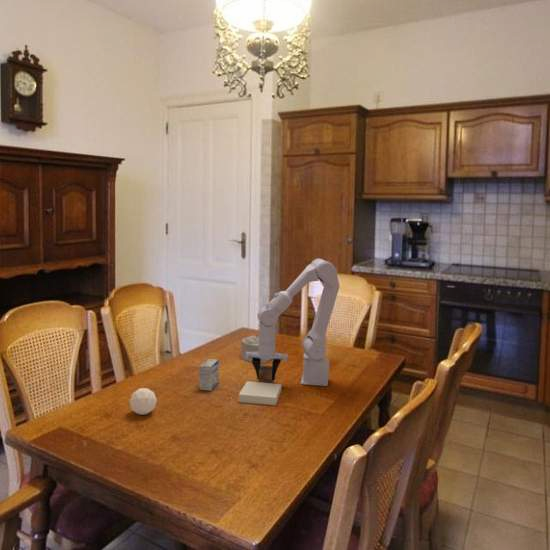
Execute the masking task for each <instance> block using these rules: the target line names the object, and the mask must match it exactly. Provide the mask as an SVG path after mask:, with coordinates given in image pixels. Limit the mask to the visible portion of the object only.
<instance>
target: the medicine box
mask: <svg viewBox="0 0 550 550" xmlns="http://www.w3.org/2000/svg"><path fill="white" fill-rule="evenodd" d="M219 361H220V360H219V359H214V358H213V359H212V358H207V359H206V360H205V361H203V363H201V364H200V365H199V367H198V371H199V372H198V373H199V375H198V377H199V378H198V379H199V390H200V391H209V392H212V391H213V390H214V389H215V387H216V386H217V385H218V384H219V381H220V379H219V378H220V377H219V376H220V375H219V371H220V370H219V368H220V367H219ZM213 388H214V389H213Z"/></svg>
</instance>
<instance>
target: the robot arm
mask: <svg viewBox="0 0 550 550" xmlns="http://www.w3.org/2000/svg"><path fill="white" fill-rule="evenodd" d="M318 281H319V282H320V283H321V285H322V286H323V289H322V291H321V292H322V293H321V295H320V298H319V303H318V306H317V310H316V312H315V315H314V319H313V321H312V322H313V323H312V326H311V329H310V330H308V332H307V335H306V337H305V338H304V339H303V341H302V342H301V347H302V350H303V351H304V353H303V356H302V357H303V360H302V363H303V364H302V376H301V380H300V384H301V385H306V386H307V385H309V386H321V387H324V386H325V387H328V385H329V380H330V371H329V370H330V359H329V358H327V357H325V356H326V353H327V349H326V346H327V345H326V344H327V336H326V335H327V334H326V333H327V330H328V326H329V324H330V320H331V316H332V313H333V310H334V307H335V304H336V301H337V296H338V294H339V289H340V282H339V278H338V270H337V268H336V267H335V266H334V264H333V263H332V262H330V261H327V260H324V259H323V258H315V259H313V260H312V261H311V263H309V264H308V265H306V267H305V269H303V271H302V272H301V273H300V274H299V275H298V276H297V277H296V279H295V280H294V281H293V282H292V283H291V284H290V285H289V287H287V289H286V290H280V291H279V292H276V293H274V297H273V298H272V299H271V300H270V301H269V303H266V304H264V307H261V308H260V310H259V311H258V313H257V319H258V320H259V322H258V323H259V324H258V325H259V327H258V337H259V352H246V359H249V358H252V362H251V364H252V366H253V369H254V370H255V374H256V378H257V380H259V368H260V367H261V364H262V363H261V359H269V361H272V363H271V364H272V365H271V366H272V367H273V374H272V380H273V381H274V382H275V379H276V375H277V370H278V367H279V366H280V364H281V362H282V361H283V362H288V355H289V354H287V353H286V354H285V353H280V352H276V323H277V322H278V318H279V317H280V316H281V315H282V314H283V313H284V312H285V311H286V310H287V309H288V308H289V306H291V305H292V304H293V298H294V297H295V296H296V295H297V294H298V293H299V292H300V291H301V290H302V289H303V288H304V287H305V286H307V285H308V284H309V283H312V282H318Z"/></svg>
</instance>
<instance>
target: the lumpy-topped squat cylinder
mask: <svg viewBox="0 0 550 550" xmlns="http://www.w3.org/2000/svg"><path fill="white" fill-rule="evenodd" d="M246 352H259V336H256V335H250V336H247V337H244V338H242V340H241V359H242V360H244V361H246V362H251V363H252V358H249V359H246ZM269 361H270V360H269V359H261V364H266V363H267V362H269Z"/></svg>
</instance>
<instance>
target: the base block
mask: <svg viewBox="0 0 550 550" xmlns="http://www.w3.org/2000/svg"><path fill="white" fill-rule="evenodd" d="M281 393H282V383H274V382H273V383H262V382H259V381H249V380H248V381H247V380H246V382H245V384H244V385H243V387H242V388H241V390H240V392H239V394H238V402H239V403H245V404H255V405H256V404H257V405H269V406H276V405H277V402H278V400H279V398H280V396H281Z"/></svg>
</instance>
